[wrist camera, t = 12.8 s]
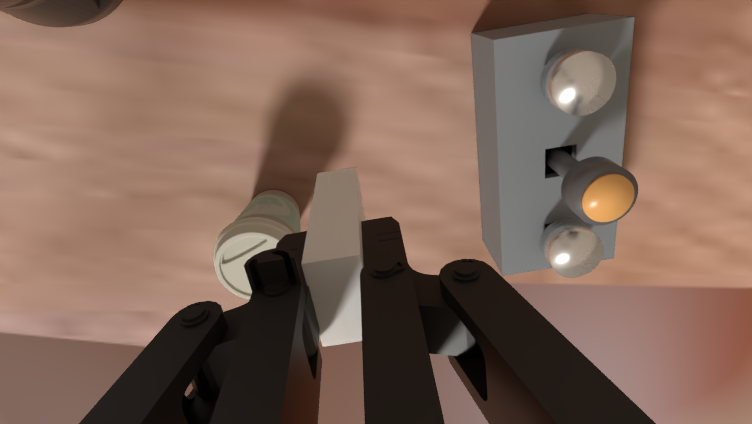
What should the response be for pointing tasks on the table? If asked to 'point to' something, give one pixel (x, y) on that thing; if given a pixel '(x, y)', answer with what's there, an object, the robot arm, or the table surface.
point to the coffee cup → (253, 237)
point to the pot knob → (594, 186)
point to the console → (540, 130)
